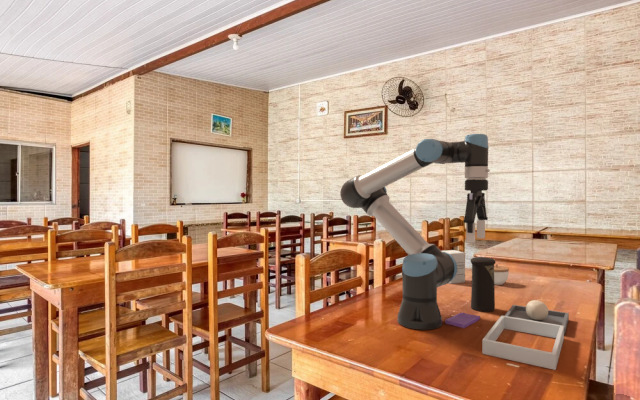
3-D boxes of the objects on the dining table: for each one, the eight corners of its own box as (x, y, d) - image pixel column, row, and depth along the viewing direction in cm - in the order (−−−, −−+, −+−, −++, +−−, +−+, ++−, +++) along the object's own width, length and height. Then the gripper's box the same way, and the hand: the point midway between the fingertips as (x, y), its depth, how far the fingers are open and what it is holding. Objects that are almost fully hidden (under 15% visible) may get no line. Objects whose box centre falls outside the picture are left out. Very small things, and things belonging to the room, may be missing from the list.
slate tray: (564, 335, 127) (564, 327, 127) (503, 324, 138) (503, 317, 138) (568, 320, 142) (568, 313, 142) (512, 311, 152) (512, 304, 152)
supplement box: (439, 279, 204) (439, 250, 204) (454, 278, 207) (454, 249, 206) (450, 284, 195) (450, 253, 195) (465, 282, 198) (465, 252, 198)
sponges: (445, 324, 139) (445, 319, 139) (461, 316, 148) (461, 311, 148) (464, 329, 134) (464, 324, 134) (480, 320, 143) (480, 315, 143)
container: (497, 312, 150) (497, 259, 150) (472, 311, 152) (472, 259, 152) (492, 306, 159) (492, 255, 158) (468, 305, 161) (468, 255, 160)
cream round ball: (539, 315, 144) (539, 297, 143) (552, 322, 136) (552, 303, 136) (521, 316, 143) (521, 297, 143) (532, 323, 136) (532, 303, 136)
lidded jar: (479, 282, 198) (479, 263, 198) (495, 280, 203) (495, 261, 203) (497, 287, 189) (497, 267, 188) (513, 284, 193) (513, 265, 193)
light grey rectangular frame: (555, 370, 104) (555, 354, 103) (482, 353, 114) (482, 339, 114) (563, 338, 125) (563, 325, 125) (501, 327, 135) (501, 315, 135)
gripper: (478, 178, 127) (478, 245, 127) (495, 179, 147) (495, 237, 148) (454, 178, 131) (454, 243, 132) (474, 179, 151) (474, 235, 152)
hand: (475, 240), depth 140 cm, fingers open, 13 cm apart
